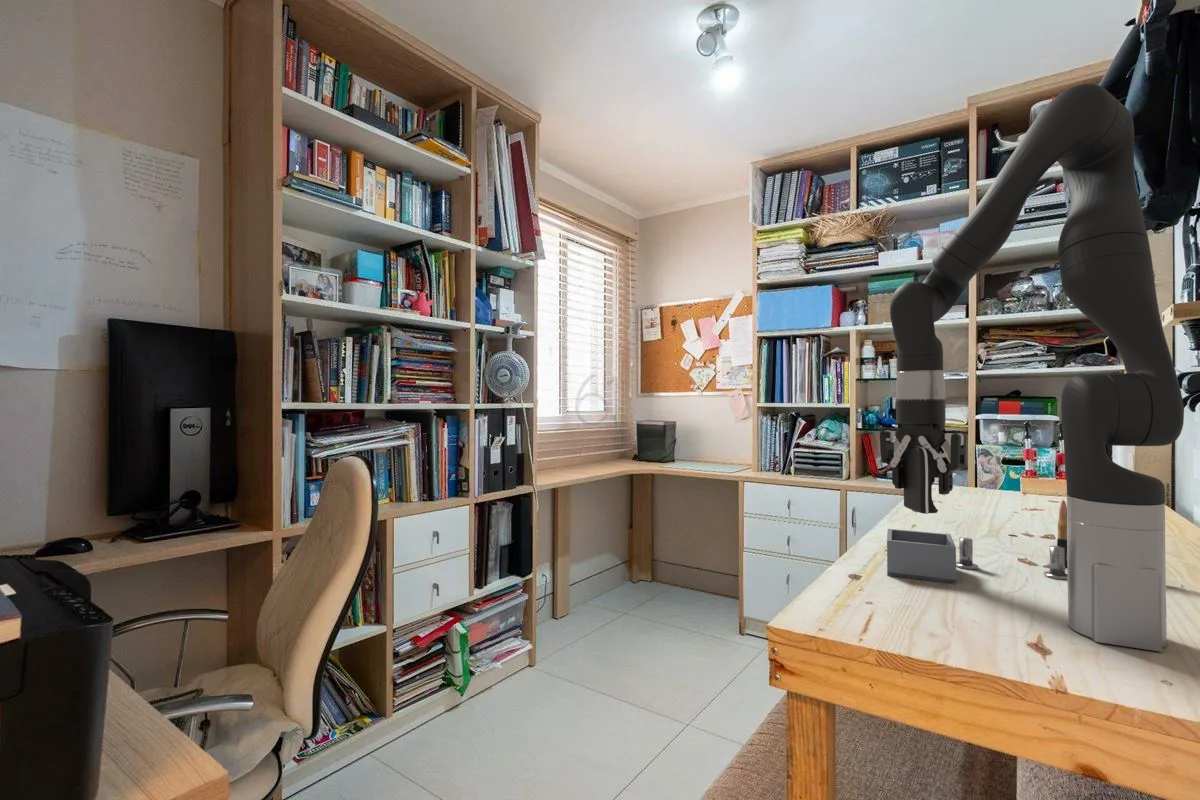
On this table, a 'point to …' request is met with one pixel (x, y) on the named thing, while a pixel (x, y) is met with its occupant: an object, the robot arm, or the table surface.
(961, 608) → the table surface
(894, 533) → the bin
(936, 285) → the robot arm
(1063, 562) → the metal knobs
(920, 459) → the battery charger
